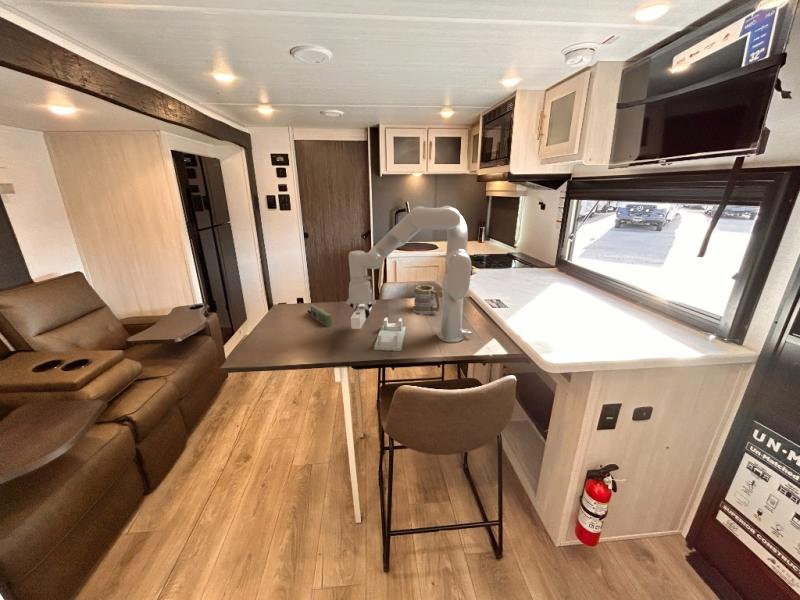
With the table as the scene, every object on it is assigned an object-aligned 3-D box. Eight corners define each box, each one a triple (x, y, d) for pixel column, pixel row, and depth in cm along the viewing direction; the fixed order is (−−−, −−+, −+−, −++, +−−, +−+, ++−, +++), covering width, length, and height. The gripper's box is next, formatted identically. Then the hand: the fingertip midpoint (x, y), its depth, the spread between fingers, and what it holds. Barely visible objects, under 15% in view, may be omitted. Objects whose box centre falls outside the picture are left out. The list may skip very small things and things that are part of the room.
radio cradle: (405, 329, 156) (405, 317, 154) (401, 351, 135) (401, 337, 133) (382, 328, 157) (381, 316, 155) (374, 349, 137) (373, 336, 134)
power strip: (371, 308, 155) (370, 298, 153) (360, 328, 133) (359, 317, 131) (363, 308, 156) (363, 298, 154) (351, 328, 133) (350, 317, 132)
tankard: (408, 310, 180) (408, 285, 175) (423, 305, 188) (424, 281, 183) (434, 320, 166) (435, 294, 161) (449, 314, 174) (451, 288, 169)
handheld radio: (327, 328, 158) (305, 314, 176) (332, 326, 161) (310, 312, 178) (326, 315, 156) (304, 302, 174) (332, 314, 158) (310, 301, 176)
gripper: (379, 276, 140) (381, 314, 147) (343, 276, 142) (346, 313, 149) (376, 281, 133) (378, 320, 140) (338, 281, 135) (342, 320, 142)
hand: (362, 316), depth 144 cm, fingers closed on power strip, 4 cm apart
